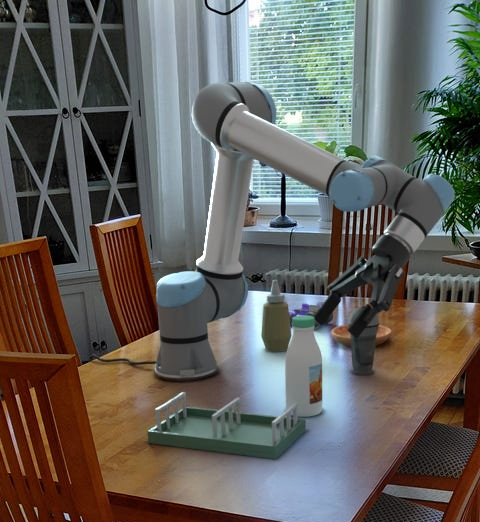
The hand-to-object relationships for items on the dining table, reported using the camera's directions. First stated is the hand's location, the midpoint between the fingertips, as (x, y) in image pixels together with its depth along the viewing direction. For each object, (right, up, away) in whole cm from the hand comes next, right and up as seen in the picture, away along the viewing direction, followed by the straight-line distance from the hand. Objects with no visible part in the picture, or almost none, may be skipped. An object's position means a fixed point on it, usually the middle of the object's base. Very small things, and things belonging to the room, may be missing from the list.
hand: (334, 328), depth 179 cm
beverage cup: (+10, -4, +30) cm, 32 cm away
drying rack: (-22, -23, -7) cm, 33 cm away
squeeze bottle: (-10, +6, +52) cm, 53 cm away
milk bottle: (-6, -17, +5) cm, 18 cm away
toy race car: (-1, +18, +76) cm, 78 cm away
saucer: (+13, +9, +56) cm, 58 cm away
